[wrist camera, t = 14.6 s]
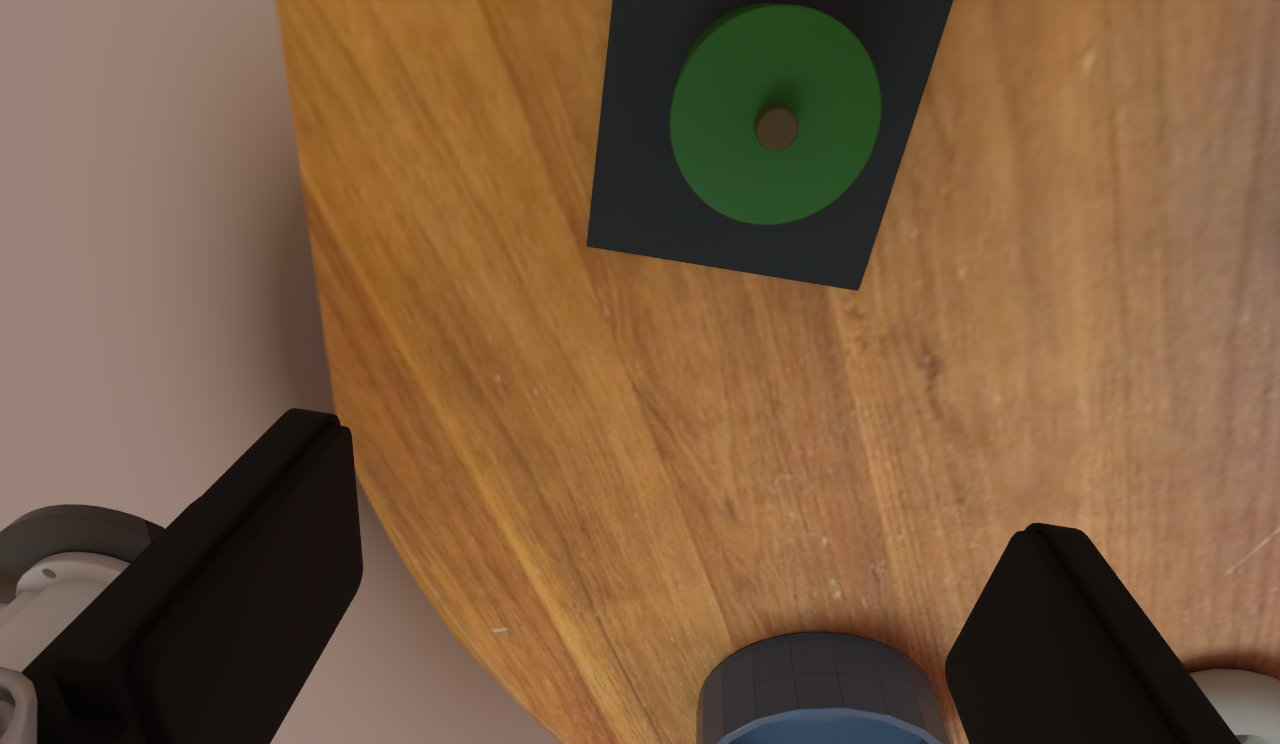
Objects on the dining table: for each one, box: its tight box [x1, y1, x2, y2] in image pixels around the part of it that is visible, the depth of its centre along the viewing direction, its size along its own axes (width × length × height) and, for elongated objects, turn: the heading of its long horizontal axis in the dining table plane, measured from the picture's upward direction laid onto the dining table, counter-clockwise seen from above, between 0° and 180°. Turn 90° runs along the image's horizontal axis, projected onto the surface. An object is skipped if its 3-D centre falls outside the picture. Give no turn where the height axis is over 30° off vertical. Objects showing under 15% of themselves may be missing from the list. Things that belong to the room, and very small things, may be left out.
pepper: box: [670, 3, 882, 225], centre depth 23 cm, size 6×6×7 cm
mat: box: [587, 0, 953, 291], centre depth 26 cm, size 12×14×1 cm
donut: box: [1189, 669, 1280, 744], centre depth 39 cm, size 10×4×10 cm
